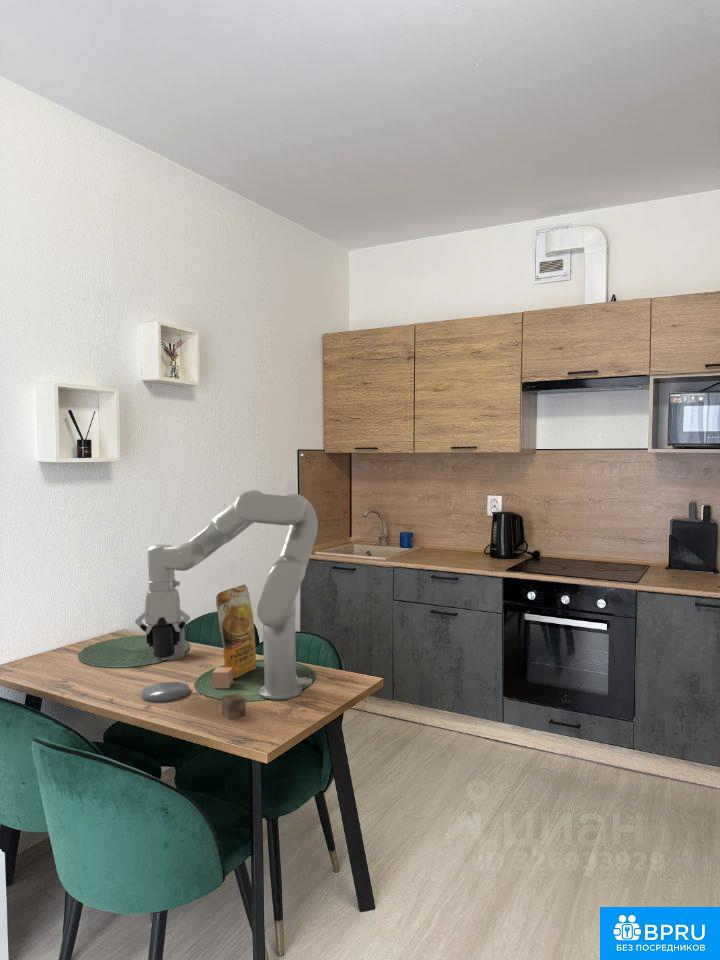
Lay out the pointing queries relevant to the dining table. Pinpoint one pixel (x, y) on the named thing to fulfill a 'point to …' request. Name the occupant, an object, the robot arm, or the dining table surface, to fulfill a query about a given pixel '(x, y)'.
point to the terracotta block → (222, 676)
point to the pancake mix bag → (237, 629)
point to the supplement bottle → (163, 639)
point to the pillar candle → (179, 646)
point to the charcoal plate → (165, 691)
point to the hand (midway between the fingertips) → (163, 644)
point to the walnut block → (233, 706)
